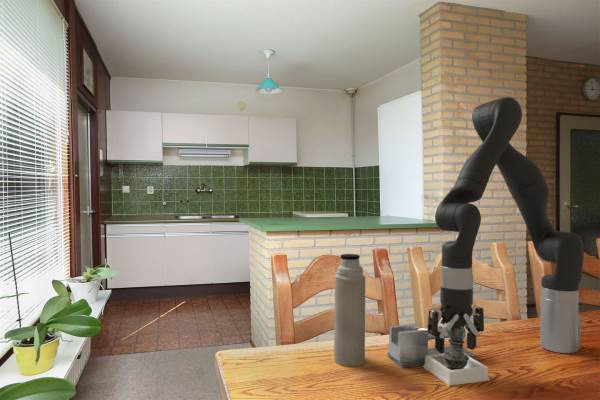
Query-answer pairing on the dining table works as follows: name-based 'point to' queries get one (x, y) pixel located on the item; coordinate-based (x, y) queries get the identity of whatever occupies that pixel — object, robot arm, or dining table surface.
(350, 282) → the thermos bottle
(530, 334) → the dining table surface
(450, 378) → the holder
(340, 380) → the dining table surface
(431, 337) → the shaft
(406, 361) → the bearing block
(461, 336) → the dark grey turned piece
